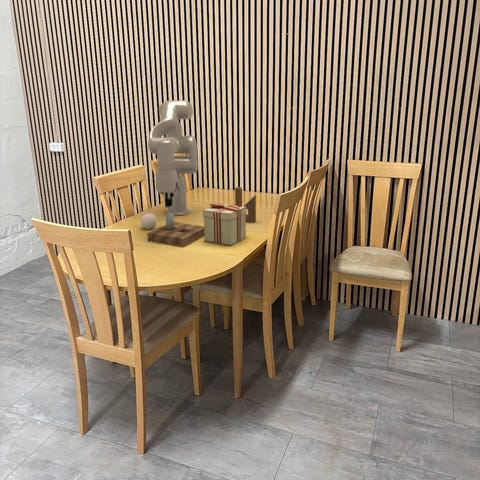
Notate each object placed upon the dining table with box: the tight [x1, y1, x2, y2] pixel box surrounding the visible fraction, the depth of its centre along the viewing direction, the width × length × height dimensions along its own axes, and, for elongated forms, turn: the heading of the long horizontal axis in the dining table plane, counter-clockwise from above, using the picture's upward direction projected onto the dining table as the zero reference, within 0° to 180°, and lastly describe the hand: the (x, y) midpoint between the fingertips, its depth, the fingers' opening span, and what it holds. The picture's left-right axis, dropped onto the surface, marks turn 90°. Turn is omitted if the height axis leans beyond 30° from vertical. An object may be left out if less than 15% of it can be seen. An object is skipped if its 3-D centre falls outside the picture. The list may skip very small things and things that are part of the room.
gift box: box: [202, 201, 247, 246], centre depth 226 cm, size 17×18×17 cm
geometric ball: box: [140, 212, 157, 230], centre depth 244 cm, size 8×8×8 cm
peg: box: [164, 213, 175, 231], centre depth 230 cm, size 4×4×11 cm
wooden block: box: [234, 186, 257, 224], centre depth 252 cm, size 4×11×18 cm, turn 77°
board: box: [146, 221, 205, 248], centre depth 229 cm, size 20×20×4 cm
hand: (168, 206), depth 227 cm, fingers closed
